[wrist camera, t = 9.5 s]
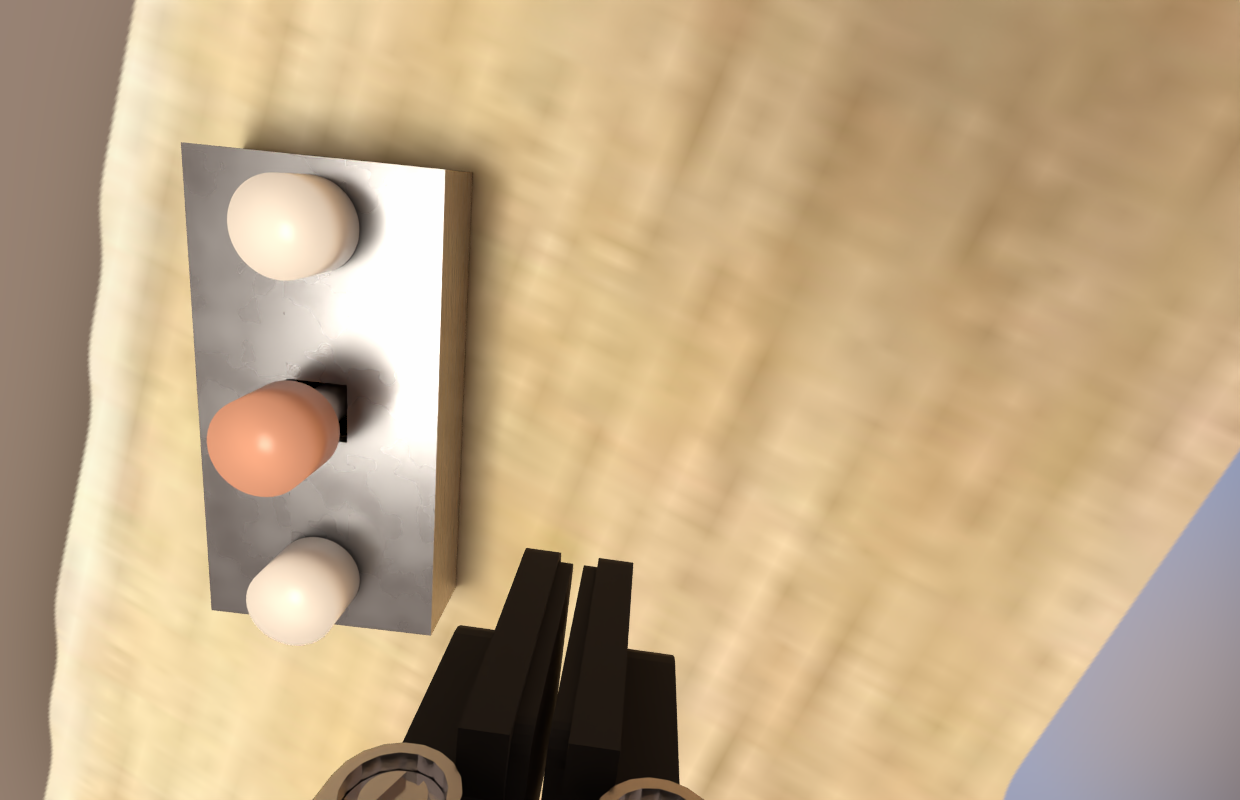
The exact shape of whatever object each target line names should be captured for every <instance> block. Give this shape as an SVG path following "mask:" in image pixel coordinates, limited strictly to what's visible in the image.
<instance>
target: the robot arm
mask: <svg viewBox="0 0 1240 800" xmlns="http://www.w3.org/2000/svg"><path fill="white" fill-rule="evenodd" d="M572 572H573V564H570V563H563V562H561V553H559V552H552V551H545V550H537V549H530V548H526V550H525V552H524V554H523V557H522V560H521V562H520V565H519V568H518V570H517V573H516V576H515V578H514V581H513V584H512V586H511V589H510V591H509V594H508V597H507V599H506V602H505V605H504V607H503V610H502V613H501V615H500V618H499V621H498V623H497V626H496V628H495V630H490V629H483V628H476V627H469V626H462V625H460V626H458V627H457V629H456V630H455V632H454V634H453V636H452V638H451V640H450V643H449V645H448V647H447V649H446V651H445V653H444V655H443V657H442V660H441V662H440V664H439V666H438V668H437V670H436V672H435V675H434V677H433V679H432V681H431V683H430V685H429V687H428V689H427V692H426V694H425V696H424V698H423V700H422V702H421V704H420V706H419V709H418V711H417V713H416V715H415V717H414V719H413V721H412V724H411V726H410V728H409V730H408V732H407V734H406V736H405V738H404V741H403V743H394V744H384V745H381V746H378V747H374V748H371V749H368V750H365V751H363V752H361V753H359V754H358V755H356V756H354V757H353V758H351V759H349V760H347V761H346V762H345V763H344V764H343V765H342V766H341V767H340V768H339V769H338V770H337V771H336V772H334V773H333V774H332V775H331V777H330V778H329V779H328V781H327V782H326V783H325V784H324V786H323V787H322V788H321V790H320V791H319V792H318V793H317V795H316V796H315V797H314V799H313V800H539V797H540V792H541V787H542V782H543V777H544V782H543V790H542V798H541V800H704V799H702V798H701V797H700V796H698V795H697V794H695V793H694V792H693V791H691V790H690V789H688V788H687V787H684V786H682V785H679V759H678V731H677V703H676V676H675V658H674V656H673V655H668V654H661V653H654V652H646V651H639V650H632V649H627V648H628V633H629V619H630V604H631V589H632V575H633V563H631V562H624V561H616V560H609V559H602V558H599V561H598V567H592V566H585V565H584V568H583V572H582V577H581V582H580V587H579V592H578V597H577V602H576V607H575V612H574V617H573V622H572V627H571V632H570V637H569V642H568V647H567V652H566V657H565V661H564V666H563V671H562V676H561V681H560V686H559V679H560V671H561V663H562V655H563V646H564V638H565V630H566V622H567V613H568V605H569V597H570V589H571V580H572ZM558 688H559V691H558ZM544 772H545V773H544Z"/></svg>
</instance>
